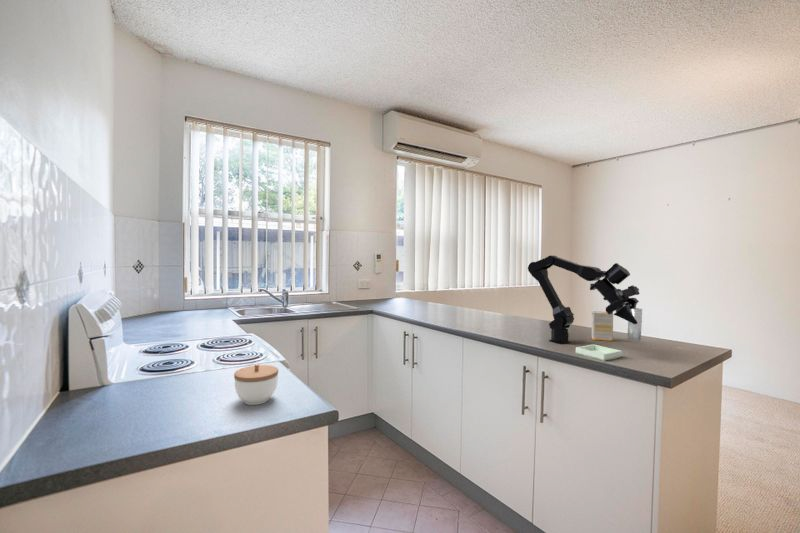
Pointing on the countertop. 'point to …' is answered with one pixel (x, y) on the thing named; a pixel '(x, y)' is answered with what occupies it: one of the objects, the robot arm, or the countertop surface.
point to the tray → (599, 352)
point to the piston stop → (635, 325)
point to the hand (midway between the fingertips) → (638, 323)
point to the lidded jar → (256, 383)
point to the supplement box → (602, 326)
